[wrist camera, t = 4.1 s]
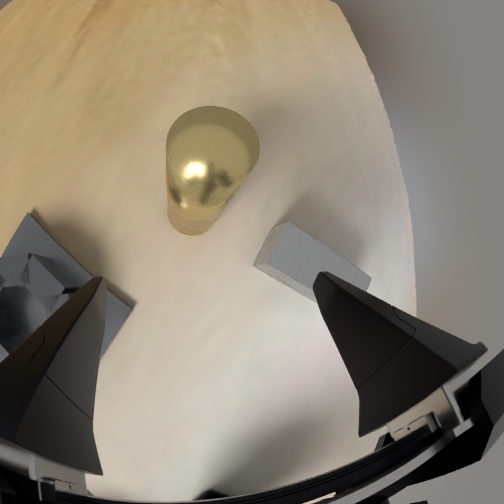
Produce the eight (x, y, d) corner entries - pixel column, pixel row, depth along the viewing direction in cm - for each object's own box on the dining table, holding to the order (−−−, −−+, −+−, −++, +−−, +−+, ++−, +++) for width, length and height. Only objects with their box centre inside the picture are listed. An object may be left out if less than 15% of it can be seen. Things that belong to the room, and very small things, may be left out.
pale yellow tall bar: (226, 207, 25) (275, 142, 13) (196, 245, 23) (222, 205, 12) (188, 178, 24) (208, 92, 12) (157, 214, 23) (146, 147, 11)
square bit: (347, 278, 28) (371, 277, 24) (332, 312, 27) (356, 316, 23) (270, 229, 26) (287, 220, 22) (251, 266, 25) (266, 263, 21)
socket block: (133, 309, 21) (125, 314, 18) (66, 416, 18) (54, 434, 14) (30, 213, 19) (10, 203, 15) (-25, 323, 15) (-46, 327, 12)
